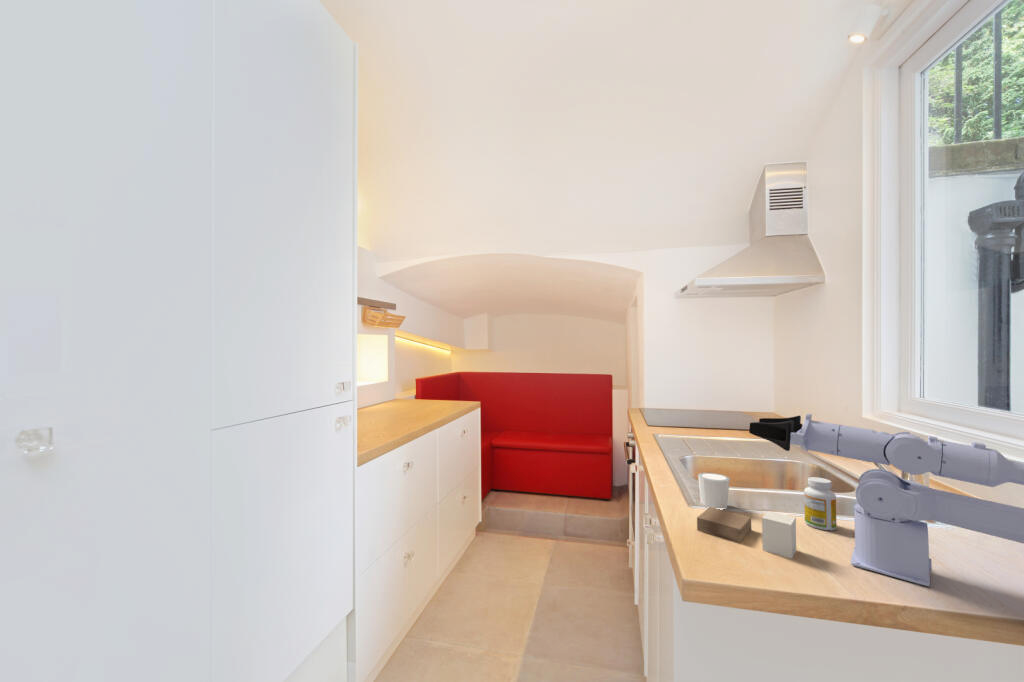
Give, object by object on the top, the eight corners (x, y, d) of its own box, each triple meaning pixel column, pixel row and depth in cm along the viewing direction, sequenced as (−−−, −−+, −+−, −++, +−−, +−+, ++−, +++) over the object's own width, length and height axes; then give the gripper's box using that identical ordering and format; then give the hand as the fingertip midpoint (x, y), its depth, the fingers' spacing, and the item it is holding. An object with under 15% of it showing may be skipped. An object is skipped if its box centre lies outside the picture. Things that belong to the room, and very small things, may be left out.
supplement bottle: (825, 521, 88) (824, 476, 88) (843, 531, 82) (842, 484, 83) (799, 519, 88) (798, 475, 89) (815, 530, 83) (814, 483, 83)
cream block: (796, 550, 74) (795, 517, 75) (791, 559, 71) (791, 524, 71) (768, 542, 78) (767, 511, 78) (762, 550, 74) (762, 517, 75)
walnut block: (751, 531, 83) (751, 517, 83) (740, 545, 77) (740, 529, 77) (710, 520, 88) (710, 506, 89) (697, 532, 83) (697, 517, 83)
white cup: (732, 513, 92) (732, 482, 92) (699, 508, 94) (699, 478, 95) (727, 502, 98) (727, 474, 99) (696, 499, 101) (696, 470, 101)
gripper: (844, 414, 79) (764, 403, 88) (836, 423, 68) (746, 409, 78) (841, 450, 79) (762, 435, 88) (833, 464, 68) (744, 445, 78)
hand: (754, 425), depth 83 cm, fingers open, 7 cm apart
